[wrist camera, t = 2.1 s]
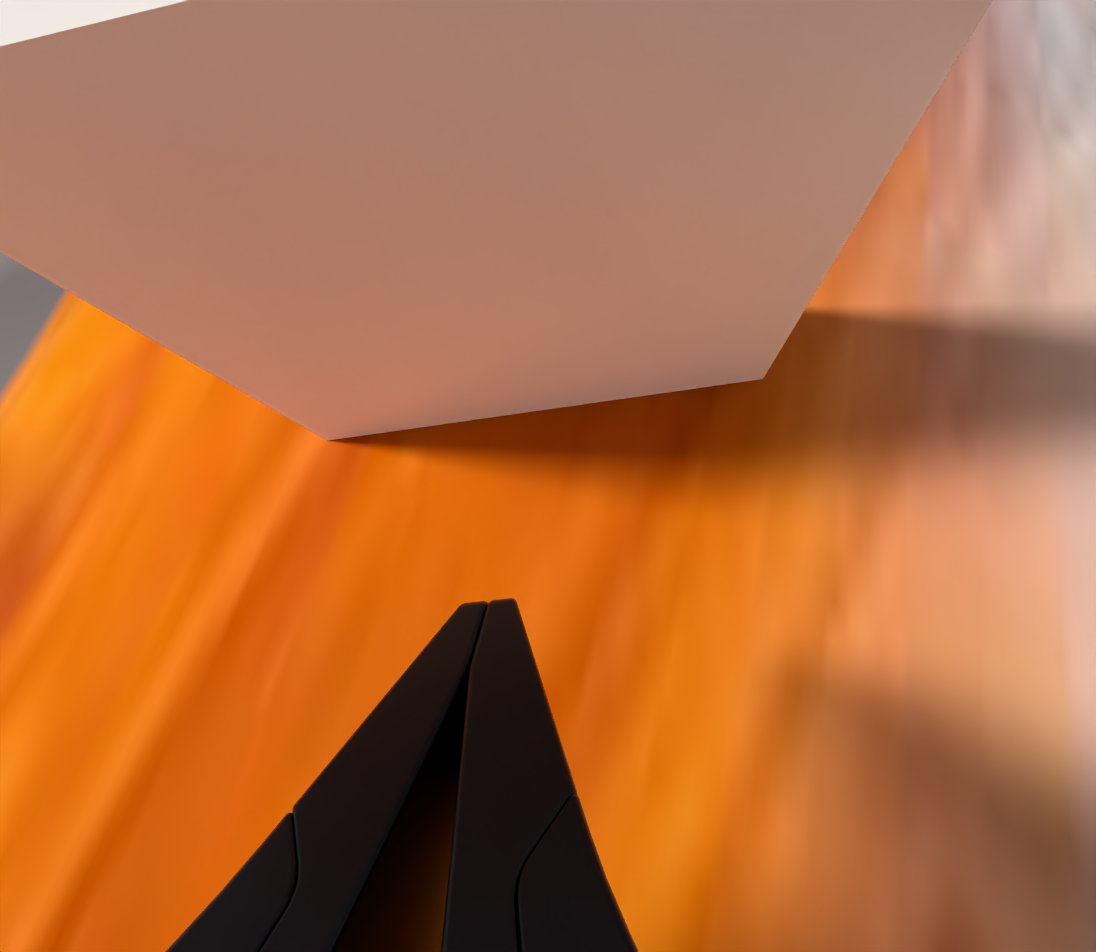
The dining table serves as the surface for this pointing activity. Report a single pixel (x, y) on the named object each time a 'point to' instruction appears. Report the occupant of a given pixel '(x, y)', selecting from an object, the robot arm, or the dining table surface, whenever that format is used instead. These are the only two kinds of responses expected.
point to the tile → (456, 185)
